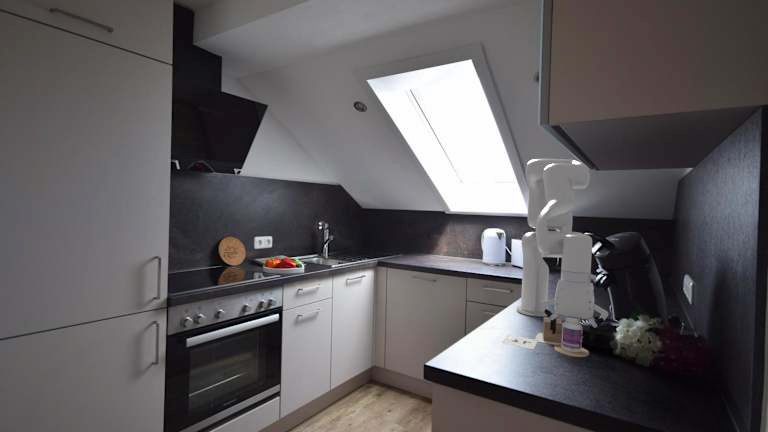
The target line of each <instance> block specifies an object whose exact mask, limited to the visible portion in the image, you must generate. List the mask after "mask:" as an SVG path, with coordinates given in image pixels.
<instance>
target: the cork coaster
mask: <svg viewBox="0 0 768 432" xmlns="http://www.w3.org/2000/svg"><path fill="white" fill-rule="evenodd" d="M553 348H554V350H555V351H556V352H557V353H560V354H562V355H565V356H569V357H575V358H585V357H588V356H590V351H589V350H587V349H586V348H584V347H582V349H581V352H577V353H576V352H569V351H566V350H564V349H562V347H561V344H558V345H554V347H553Z"/></svg>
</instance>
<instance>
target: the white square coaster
mask: <svg viewBox="0 0 768 432" xmlns="http://www.w3.org/2000/svg"><path fill="white" fill-rule="evenodd" d="M511 335H512V334H507V336H505V338H504V339H503V340H502V342H501V344H504V345H510V346H516V347H521V348H525V349H528V350H534V349H535V347H536V345H537V343H539V342H538V341H534V340H535V338H534V339H533V338H527V337H522V336H519V335H513V336H515V337H516V336H517V337H518V338H517V337H516V338H514V337H513V336H512V337H513V339H512V338H511V339H509V338H508V337H510V336H511Z"/></svg>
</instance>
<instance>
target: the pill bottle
mask: <svg viewBox="0 0 768 432" xmlns="http://www.w3.org/2000/svg"><path fill="white" fill-rule="evenodd" d="M564 320H565V321H564V322H562V340H561V347H562V349H564V350H566V351H569V352H576V353H577V352H581V349H582V348H583V347H582V346H583V345H582V344H583V331H584V330H583V329H584V328H583V325H582V324H581V319H580V318H574V317H568V316H564Z"/></svg>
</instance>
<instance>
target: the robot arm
mask: <svg viewBox="0 0 768 432" xmlns="http://www.w3.org/2000/svg"><path fill="white" fill-rule="evenodd" d="M524 171H525V173H524V175H525V180H526V181H525V182H526V184H527V187H528V205H527V224H528V226H529V227H530V228H533V229H535V231H530V232H526V233H525V234H524V235H523V236H522V237H521V249H522V277H521V296H520V297H521V299H520V305H518V306H516V312H518V313H520V314H523V315H526V316H531V317H539V318H540V317H543V318H544V317H547V318H549V319H550V320H551V321H550V330H552V334H555V333H556V321H557V319H558V318H557V317H559V316H564V317H565V316H568V317H574V318H580V319H582V320H587V321H588V322H589V323H590V327H589V341H590V342H593V340H594V339H596V333H597V327H598V326H600V325H601V324H603V323H604V322H605V321H606V319H607V318H608V316H609V312H608V311H607V310H605V309H604V308H602V307H600V306H599V305H597V304H595V290H594V289H595V288H594V285H593V283H592V281H596V280H597V275H594V274H592V272H591V270H592V253H593V252H592V251H593V250H592V249H593V239H592V237H591V236H590V235H588V234H584V233H582V232H577V231H573V230H572V229H573V213H572V209H573V208H574V207H575V206H576V199H575V198H576V197H575V194H574V190H577V189H578V190H583V189H586V188H587V187H588V186H589V183H590V182H591V181H590V180H591V174H590V170H589V168H588V166H586V164H584V163H582V162H580V161H578V160H576V159H567V158H565V159H562V158H535V159H531V160H529V161H528V162H527V164H526V166H525V170H524ZM544 258H561V266H560V267H561V269H560V270H561V271H560V278H559V279H558V280H557V282H556V283H557V284H556V288H555V294H554V298H552V299H548V296H549V295H548V293H549V292H548V291H549V278H550V277H549V275H550V269H549V266H548V264H547V263H546V261H545V260H544ZM551 305H554V306H553V309H554V310H553V312H552V310H550V309H549V306H551ZM595 311H596V312H597V313H599V314H600V316H599V317H598V318H597V319H595V318H594V313H595Z"/></svg>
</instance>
